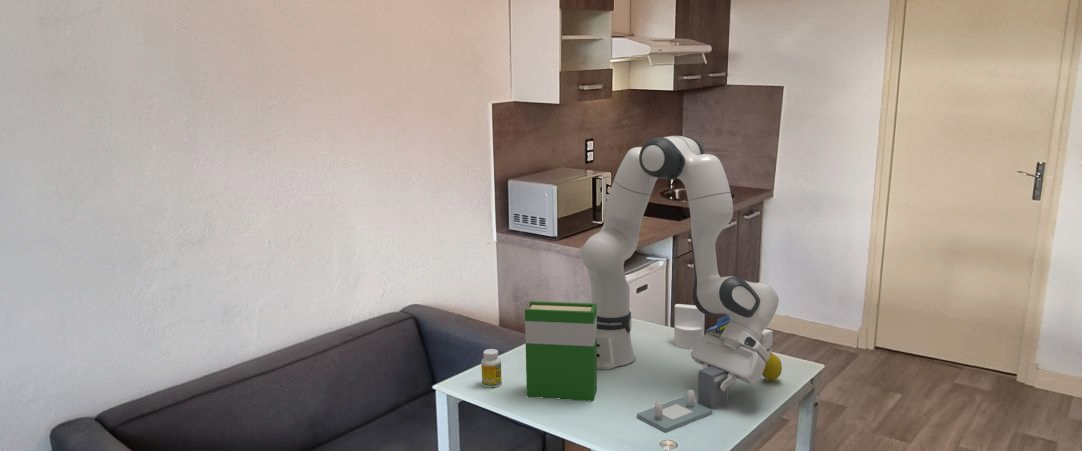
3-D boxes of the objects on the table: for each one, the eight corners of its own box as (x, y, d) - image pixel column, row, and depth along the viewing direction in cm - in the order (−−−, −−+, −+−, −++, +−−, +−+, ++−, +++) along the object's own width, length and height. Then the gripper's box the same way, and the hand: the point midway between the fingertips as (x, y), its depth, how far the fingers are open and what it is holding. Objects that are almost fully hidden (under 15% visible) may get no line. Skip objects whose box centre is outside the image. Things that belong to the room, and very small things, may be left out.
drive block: (711, 409, 200) (712, 375, 198) (697, 403, 204) (698, 370, 202) (727, 403, 203) (728, 369, 201) (713, 397, 207) (714, 364, 205)
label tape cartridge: (720, 348, 241) (722, 309, 238) (732, 351, 238) (733, 312, 236) (704, 356, 235) (705, 316, 232) (716, 359, 232) (717, 319, 230)
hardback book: (526, 397, 209) (524, 309, 204) (532, 385, 216) (530, 301, 211) (593, 401, 206) (593, 312, 201) (596, 389, 213) (596, 303, 208)
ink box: (772, 369, 224) (774, 329, 222) (761, 374, 221) (763, 334, 218) (747, 361, 231) (748, 322, 228) (736, 365, 227) (737, 326, 225)
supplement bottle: (485, 379, 221) (484, 347, 219) (504, 381, 220) (503, 348, 218) (479, 387, 216) (478, 354, 214) (498, 389, 214) (497, 355, 212)
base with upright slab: (671, 347, 243) (672, 309, 240) (677, 337, 251) (677, 300, 248) (701, 350, 240) (702, 312, 237) (705, 340, 248) (706, 303, 245)
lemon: (777, 387, 213) (779, 358, 211) (757, 382, 215) (758, 355, 214) (783, 379, 217) (784, 352, 215) (763, 375, 220) (764, 348, 218)
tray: (665, 432, 188) (666, 412, 187) (636, 417, 196) (637, 398, 195) (712, 413, 198) (712, 395, 196) (682, 400, 205) (683, 382, 204)
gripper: (702, 323, 212) (675, 367, 209) (764, 345, 196) (736, 392, 192) (713, 336, 216) (687, 379, 212) (775, 358, 199) (748, 405, 196)
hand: (711, 385), depth 202 cm, fingers closed on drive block, 4 cm apart
